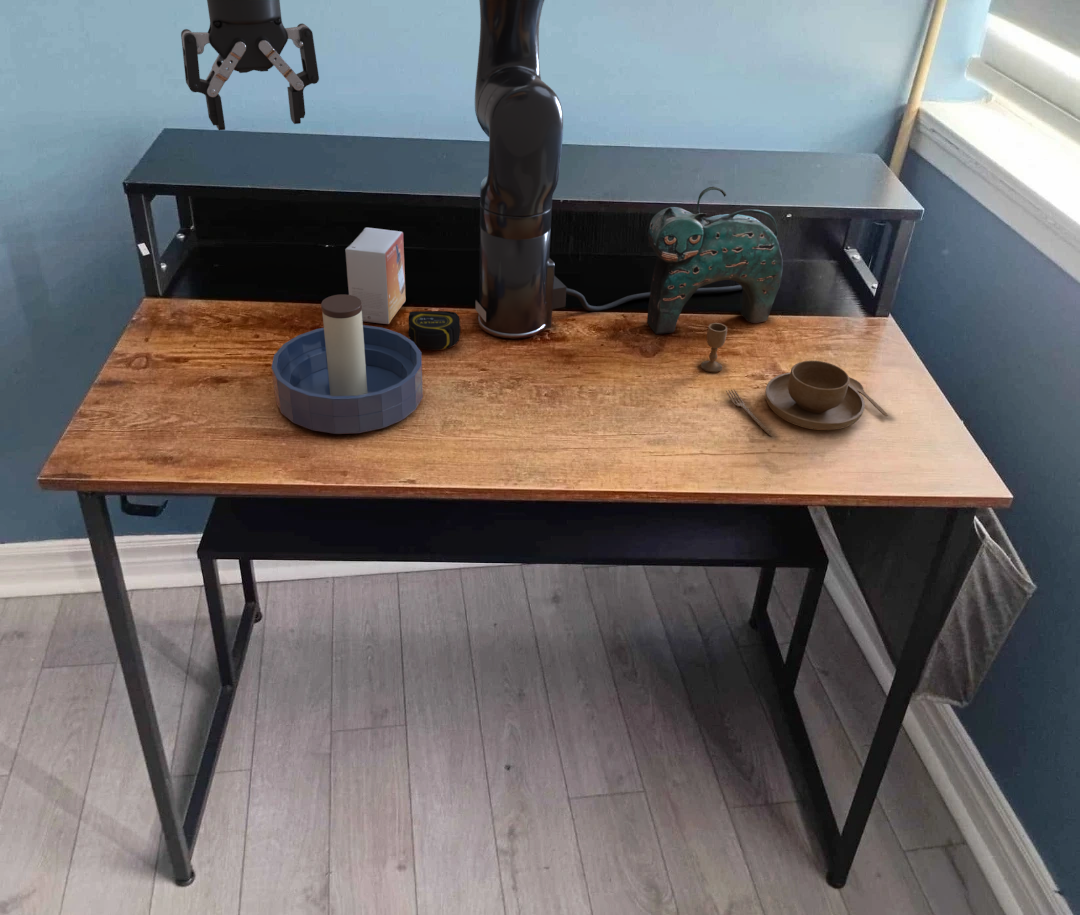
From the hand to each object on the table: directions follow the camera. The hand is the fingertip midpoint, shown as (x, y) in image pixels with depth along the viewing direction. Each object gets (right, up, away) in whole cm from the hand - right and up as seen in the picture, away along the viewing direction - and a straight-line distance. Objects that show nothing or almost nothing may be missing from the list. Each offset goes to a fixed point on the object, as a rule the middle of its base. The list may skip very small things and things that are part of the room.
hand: (259, 125), depth 113 cm
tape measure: (+18, -23, +18) cm, 34 cm away
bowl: (+10, -31, +5) cm, 33 cm away
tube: (+9, -31, +5) cm, 32 cm away
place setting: (+64, -30, +11) cm, 72 cm away
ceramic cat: (+55, -19, +26) cm, 64 cm away
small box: (+10, -18, +24) cm, 32 cm away
